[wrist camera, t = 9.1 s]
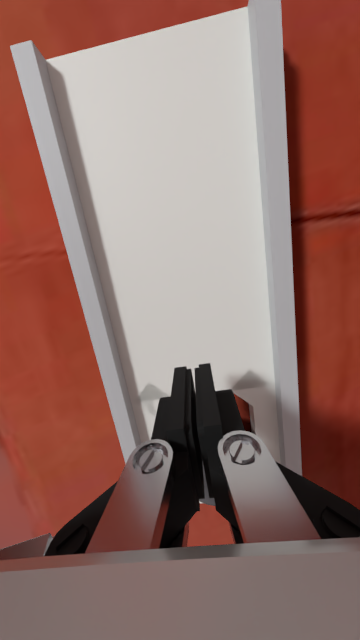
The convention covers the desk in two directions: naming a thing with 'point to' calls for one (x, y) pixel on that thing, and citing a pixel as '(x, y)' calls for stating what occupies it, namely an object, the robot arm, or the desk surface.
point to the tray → (178, 212)
